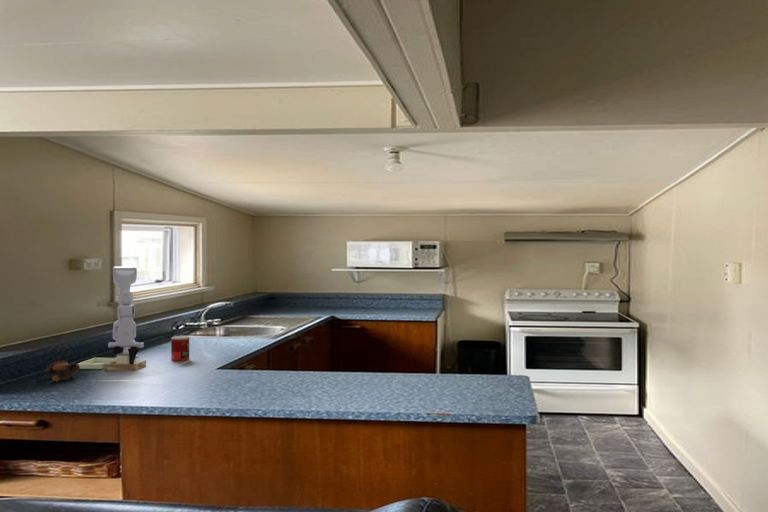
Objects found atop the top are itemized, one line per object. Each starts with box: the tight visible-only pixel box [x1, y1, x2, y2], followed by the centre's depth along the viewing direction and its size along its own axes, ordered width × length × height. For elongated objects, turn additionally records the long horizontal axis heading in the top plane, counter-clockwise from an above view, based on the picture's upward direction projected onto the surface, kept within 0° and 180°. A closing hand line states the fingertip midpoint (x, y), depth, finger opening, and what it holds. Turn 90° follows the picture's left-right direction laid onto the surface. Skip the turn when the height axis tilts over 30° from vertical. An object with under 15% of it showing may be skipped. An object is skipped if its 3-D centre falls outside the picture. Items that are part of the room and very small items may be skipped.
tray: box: [77, 357, 117, 370], centre depth 225 cm, size 13×11×2 cm
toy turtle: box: [44, 360, 80, 382], centre depth 204 cm, size 12×10×8 cm
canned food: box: [170, 335, 190, 362], centre depth 239 cm, size 8×8×11 cm
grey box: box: [115, 351, 136, 364], centre depth 221 cm, size 8×5×6 cm, turn 179°
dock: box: [104, 359, 147, 372], centre depth 221 cm, size 10×13×3 cm
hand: (126, 364), depth 221 cm, fingers closed on grey box, 4 cm apart
